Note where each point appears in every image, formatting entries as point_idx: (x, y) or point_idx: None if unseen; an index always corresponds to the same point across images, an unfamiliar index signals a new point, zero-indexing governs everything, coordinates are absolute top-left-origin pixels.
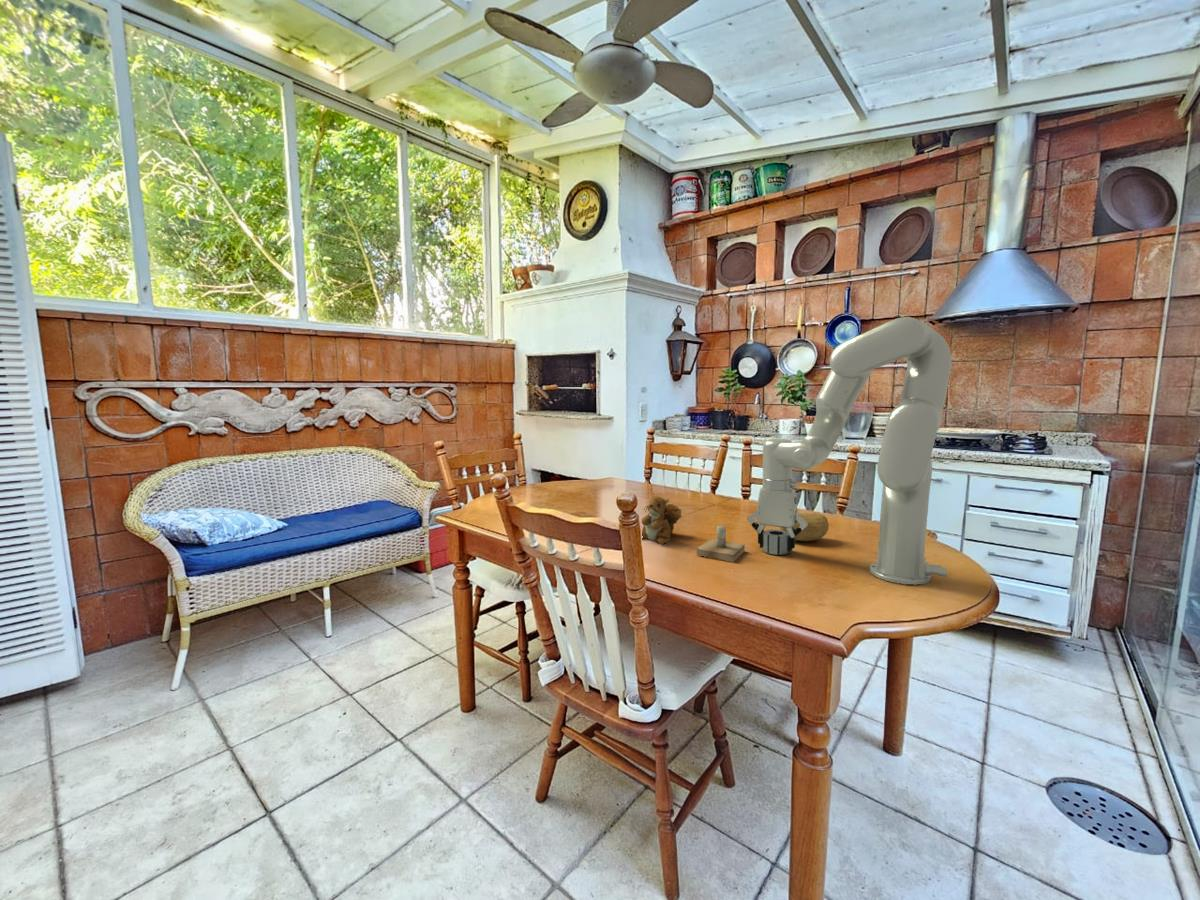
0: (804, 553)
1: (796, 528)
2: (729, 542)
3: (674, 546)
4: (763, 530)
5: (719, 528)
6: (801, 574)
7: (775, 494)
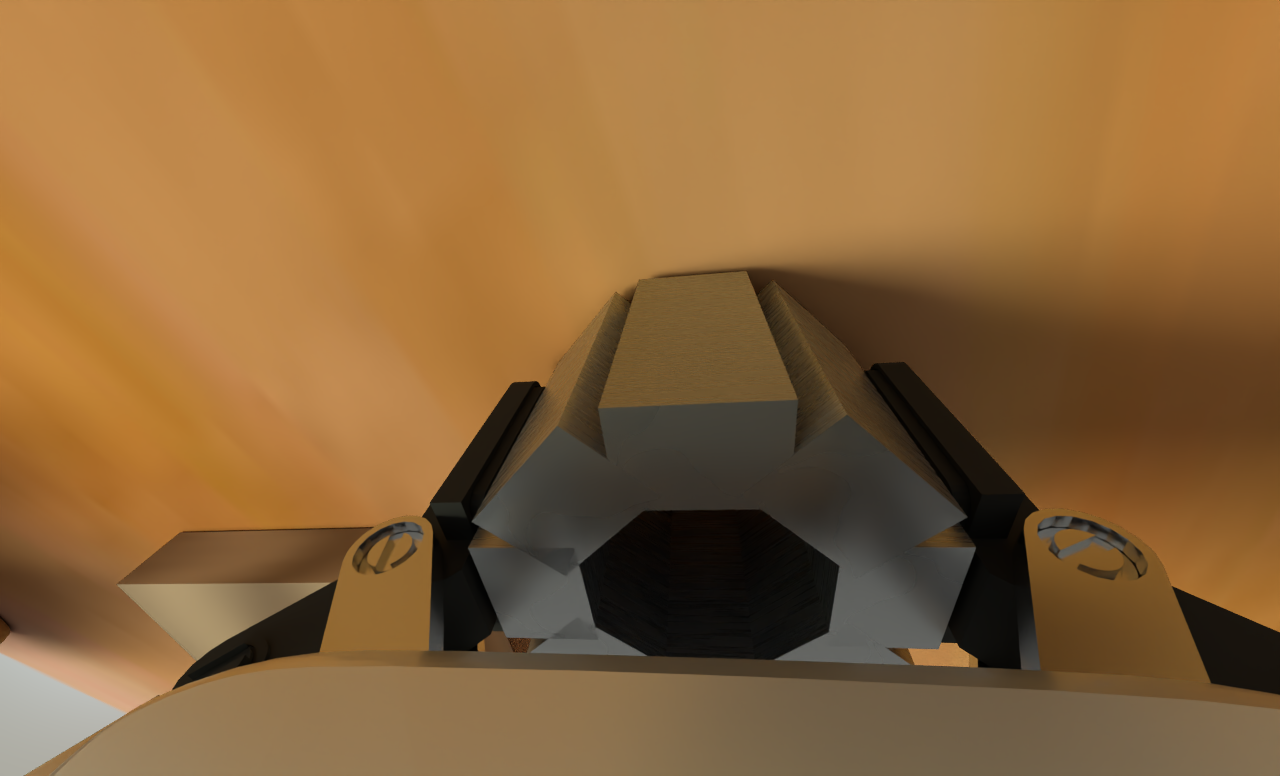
0: (1034, 285)
1: None
2: (301, 593)
3: (86, 629)
4: (467, 587)
5: None
6: None
7: None
